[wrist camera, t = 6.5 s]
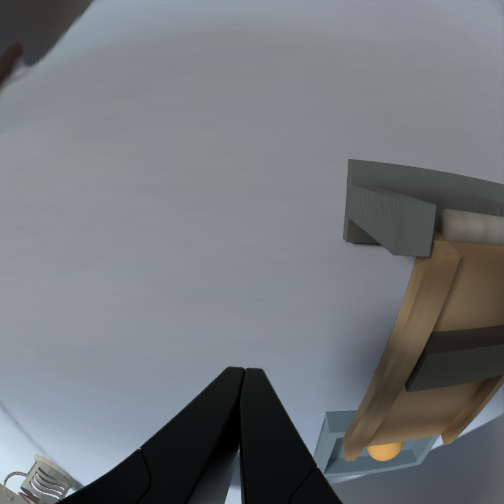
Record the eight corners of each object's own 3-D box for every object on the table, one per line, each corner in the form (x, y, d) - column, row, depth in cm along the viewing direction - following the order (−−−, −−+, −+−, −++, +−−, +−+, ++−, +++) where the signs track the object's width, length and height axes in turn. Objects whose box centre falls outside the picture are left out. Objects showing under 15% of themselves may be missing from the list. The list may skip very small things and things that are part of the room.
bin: (414, 448, 25) (420, 464, 22) (312, 459, 26) (313, 478, 23) (441, 400, 23) (450, 417, 20) (326, 412, 23) (329, 432, 21)
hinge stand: (500, 248, 18) (570, 287, 10) (343, 238, 19) (386, 292, 11) (508, 186, 17) (585, 206, 8) (348, 159, 17) (402, 159, 9)
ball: (407, 462, 19) (411, 427, 20) (371, 467, 19) (376, 432, 21) (392, 453, 22) (396, 421, 24) (360, 457, 23) (364, 425, 24)
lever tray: (444, 422, 20) (451, 445, 17) (342, 436, 20) (344, 464, 18) (552, 223, 10) (580, 244, 8) (426, 202, 11) (457, 228, 9)
